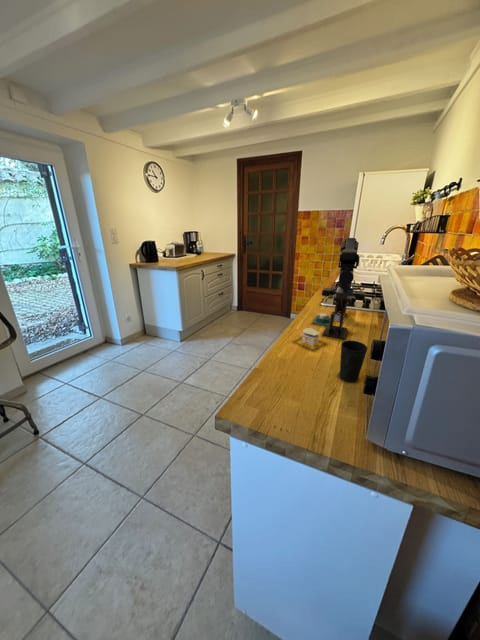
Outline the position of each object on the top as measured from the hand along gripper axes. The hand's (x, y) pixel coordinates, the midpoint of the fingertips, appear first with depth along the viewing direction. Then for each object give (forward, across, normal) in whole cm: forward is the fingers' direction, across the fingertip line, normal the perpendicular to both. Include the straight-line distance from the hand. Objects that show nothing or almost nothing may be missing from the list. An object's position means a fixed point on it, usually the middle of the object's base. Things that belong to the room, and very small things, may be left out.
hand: (340, 311), depth 122 cm
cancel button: (+5, -8, +1) cm, 10 cm away
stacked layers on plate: (+8, -8, -25) cm, 27 cm away
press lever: (+2, 0, -5) cm, 6 cm away
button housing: (+8, -8, +1) cm, 11 cm away
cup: (+8, +10, -44) cm, 46 cm away
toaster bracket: (+8, 0, -10) cm, 13 cm away
